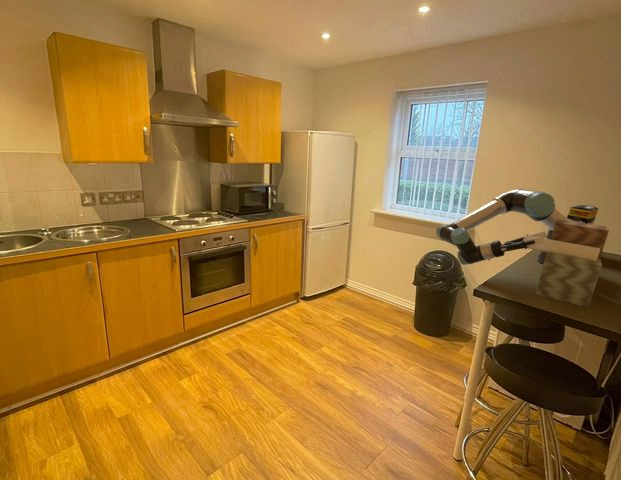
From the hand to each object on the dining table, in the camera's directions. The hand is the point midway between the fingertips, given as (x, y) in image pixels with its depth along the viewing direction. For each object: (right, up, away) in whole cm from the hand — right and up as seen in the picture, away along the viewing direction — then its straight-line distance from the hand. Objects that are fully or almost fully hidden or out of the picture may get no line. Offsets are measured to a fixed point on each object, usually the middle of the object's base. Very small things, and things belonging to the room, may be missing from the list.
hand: (545, 236), depth 144 cm
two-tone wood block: (+11, -25, +5) cm, 27 cm away
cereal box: (+67, -11, +72) cm, 100 cm away
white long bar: (+4, -7, -2) cm, 8 cm away
